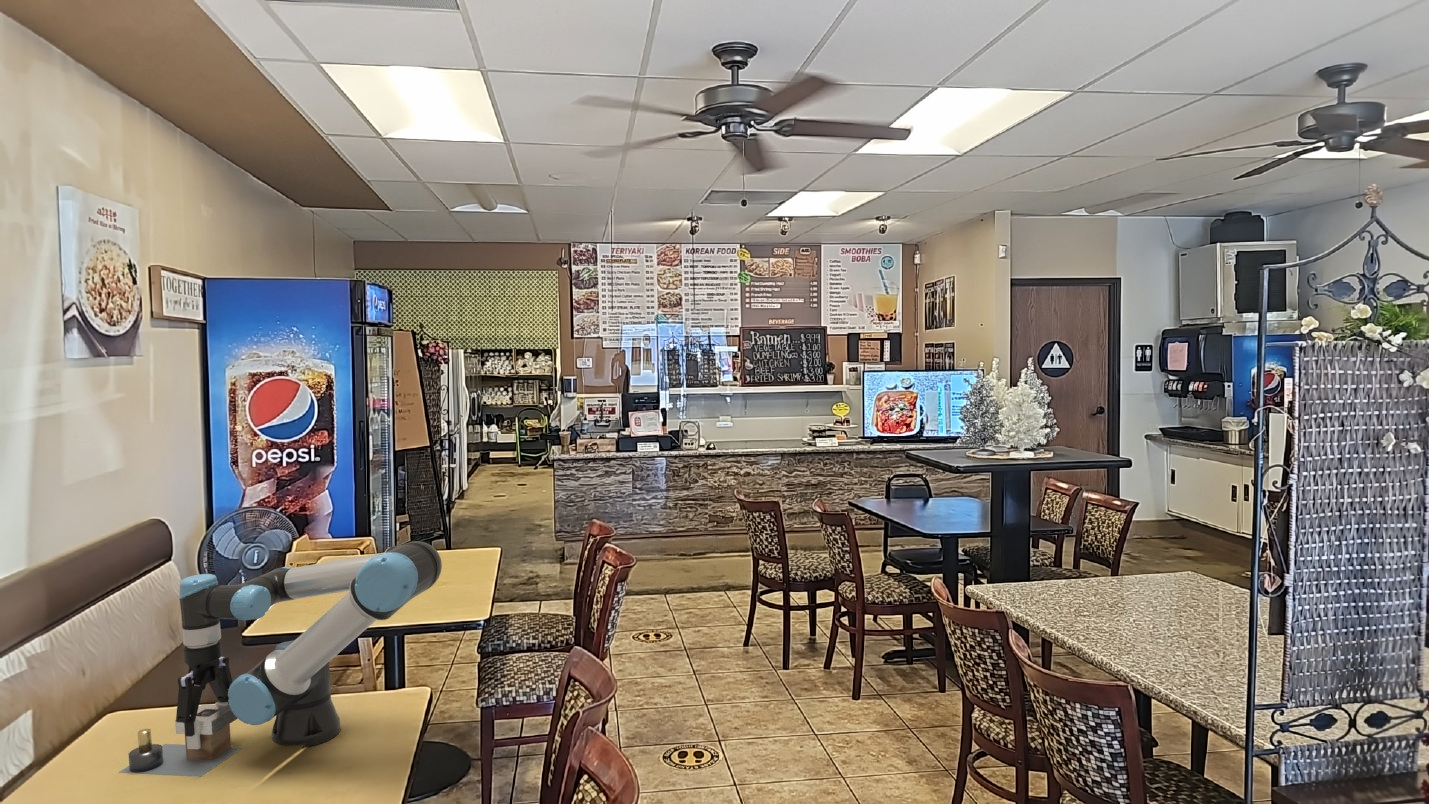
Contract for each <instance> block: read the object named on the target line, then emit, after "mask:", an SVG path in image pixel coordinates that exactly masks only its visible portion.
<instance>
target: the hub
mask: <svg viewBox="0 0 1429 804" xmlns="http://www.w3.org/2000/svg"><path fill="white" fill-rule="evenodd" d="M152 740H153V739H152V729H151V728H144V729H140V730H138V731H137V742H138V747H135V748H134V749H132V750H130V751H129V752H128V766H129V769H130V771H131V772H134V773H140V772H146V771H150V770H153V769H155V768H157V767H159V766H161V765H162V764H163V750H162V746H163V744H162V745H161V744H160V743H159V744H158V743H153V742H152ZM134 773H133V774H134Z"/></svg>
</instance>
